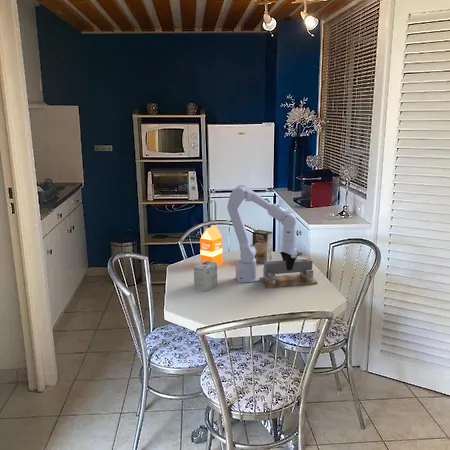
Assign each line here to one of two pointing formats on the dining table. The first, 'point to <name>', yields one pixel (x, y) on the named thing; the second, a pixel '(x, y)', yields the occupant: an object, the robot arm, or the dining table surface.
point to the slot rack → (287, 279)
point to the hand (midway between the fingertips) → (288, 268)
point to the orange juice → (211, 245)
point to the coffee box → (262, 245)
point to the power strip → (281, 266)
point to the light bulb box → (205, 275)
